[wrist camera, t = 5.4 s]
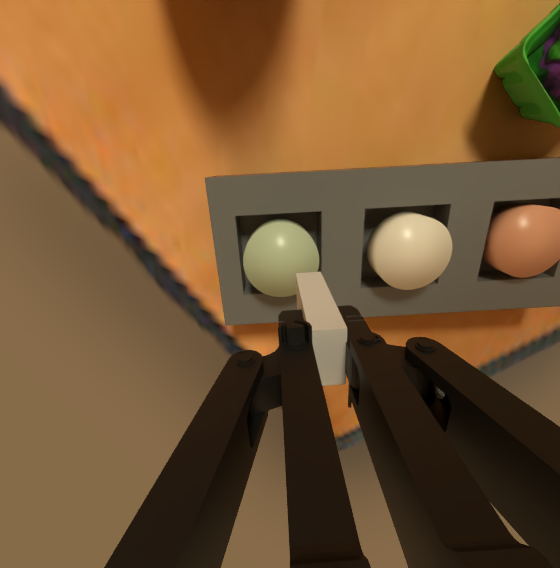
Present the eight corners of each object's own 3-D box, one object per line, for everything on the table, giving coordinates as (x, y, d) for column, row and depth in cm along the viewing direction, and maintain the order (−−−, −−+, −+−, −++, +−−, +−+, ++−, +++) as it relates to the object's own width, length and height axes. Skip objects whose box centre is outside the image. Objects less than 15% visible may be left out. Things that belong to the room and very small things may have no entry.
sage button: (242, 220, 24) (239, 226, 22) (314, 216, 24) (319, 222, 22) (249, 287, 26) (246, 299, 24) (315, 283, 26) (319, 294, 24)
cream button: (368, 213, 24) (379, 218, 22) (440, 209, 24) (458, 214, 22) (364, 280, 26) (373, 291, 24) (430, 277, 26) (445, 287, 24)
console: (214, 176, 26) (204, 177, 22) (569, 156, 26) (619, 154, 22) (231, 306, 31) (225, 325, 27) (530, 289, 31) (565, 305, 27)
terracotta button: (485, 204, 25) (506, 208, 23) (553, 201, 25) (582, 204, 23) (471, 269, 27) (489, 279, 25) (534, 266, 27) (558, 275, 25)
